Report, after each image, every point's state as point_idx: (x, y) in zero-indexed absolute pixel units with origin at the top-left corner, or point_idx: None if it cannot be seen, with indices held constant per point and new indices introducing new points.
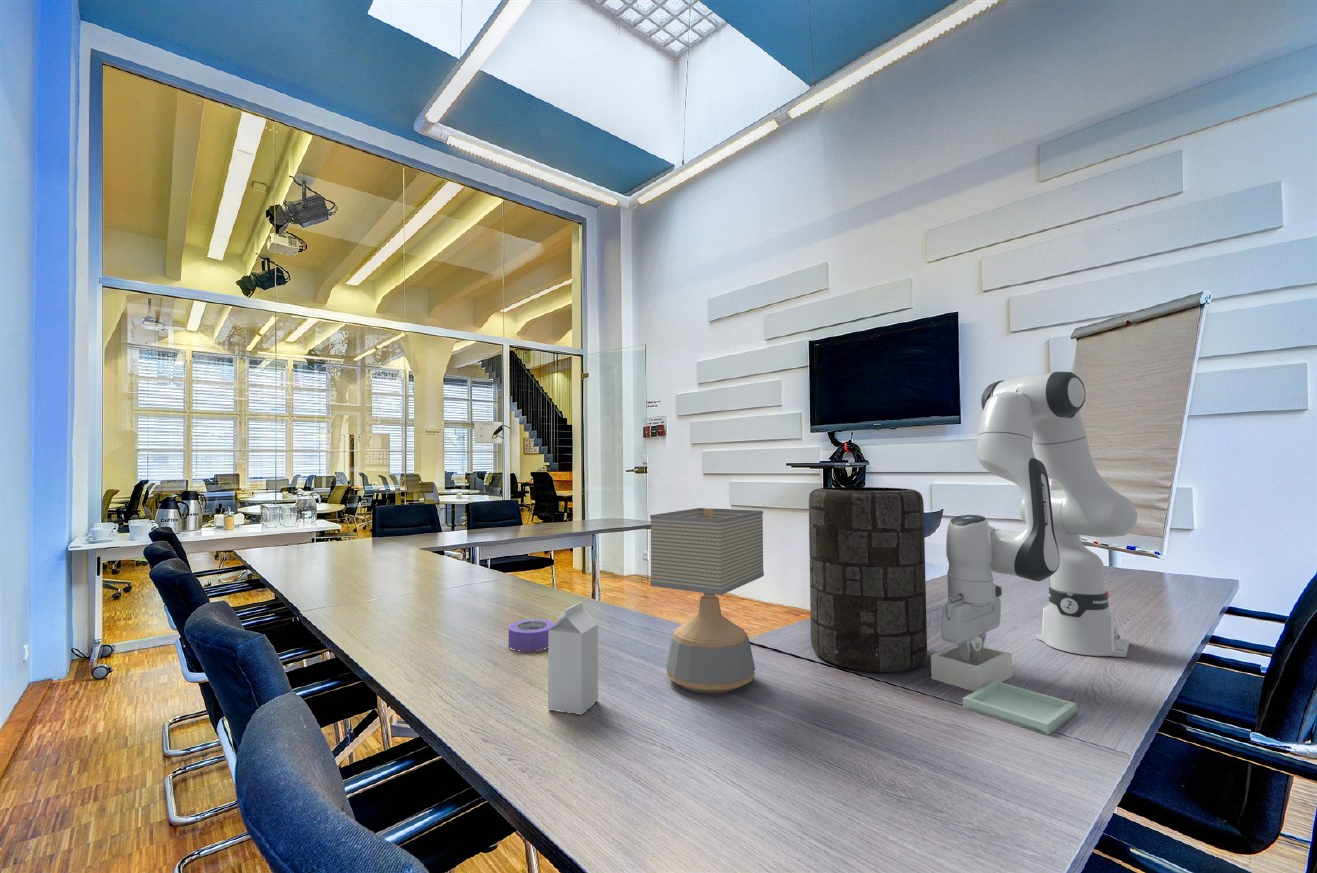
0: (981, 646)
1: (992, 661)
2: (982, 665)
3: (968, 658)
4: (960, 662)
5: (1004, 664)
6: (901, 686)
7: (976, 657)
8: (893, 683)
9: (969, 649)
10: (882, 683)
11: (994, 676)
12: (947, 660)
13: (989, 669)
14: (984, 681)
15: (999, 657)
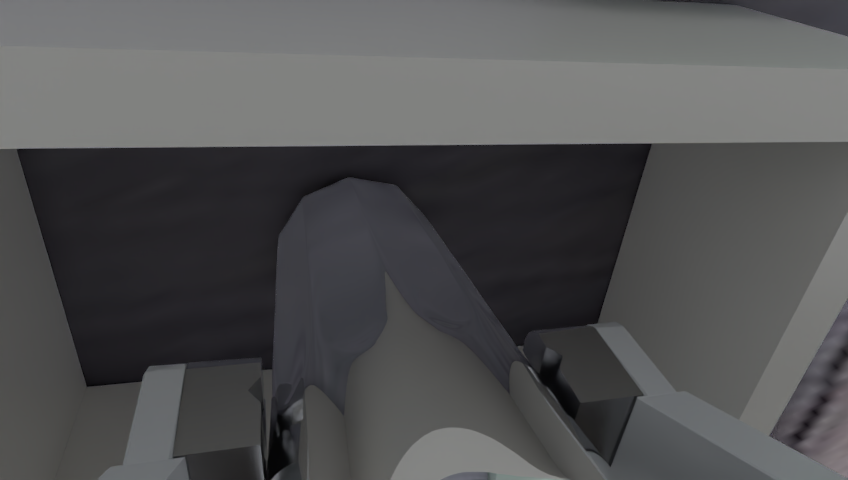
0: (414, 409)
1: (561, 78)
2: (839, 100)
3: (619, 330)
4: (826, 305)
5: (95, 11)
6: (827, 375)
7: (477, 307)
8: (800, 413)
9: (678, 416)
10: (823, 434)
11: (463, 8)
12: (782, 398)
13: (660, 41)
14: (719, 21)
15: (219, 88)
